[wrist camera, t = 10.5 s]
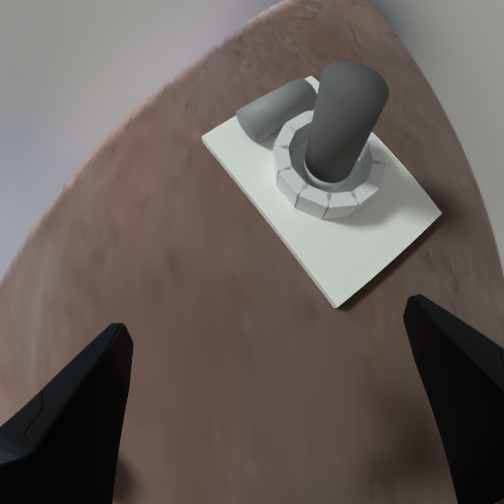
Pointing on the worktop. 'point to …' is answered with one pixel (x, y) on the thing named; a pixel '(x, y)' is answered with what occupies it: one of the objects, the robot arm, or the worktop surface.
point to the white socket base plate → (321, 192)
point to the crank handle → (342, 122)
